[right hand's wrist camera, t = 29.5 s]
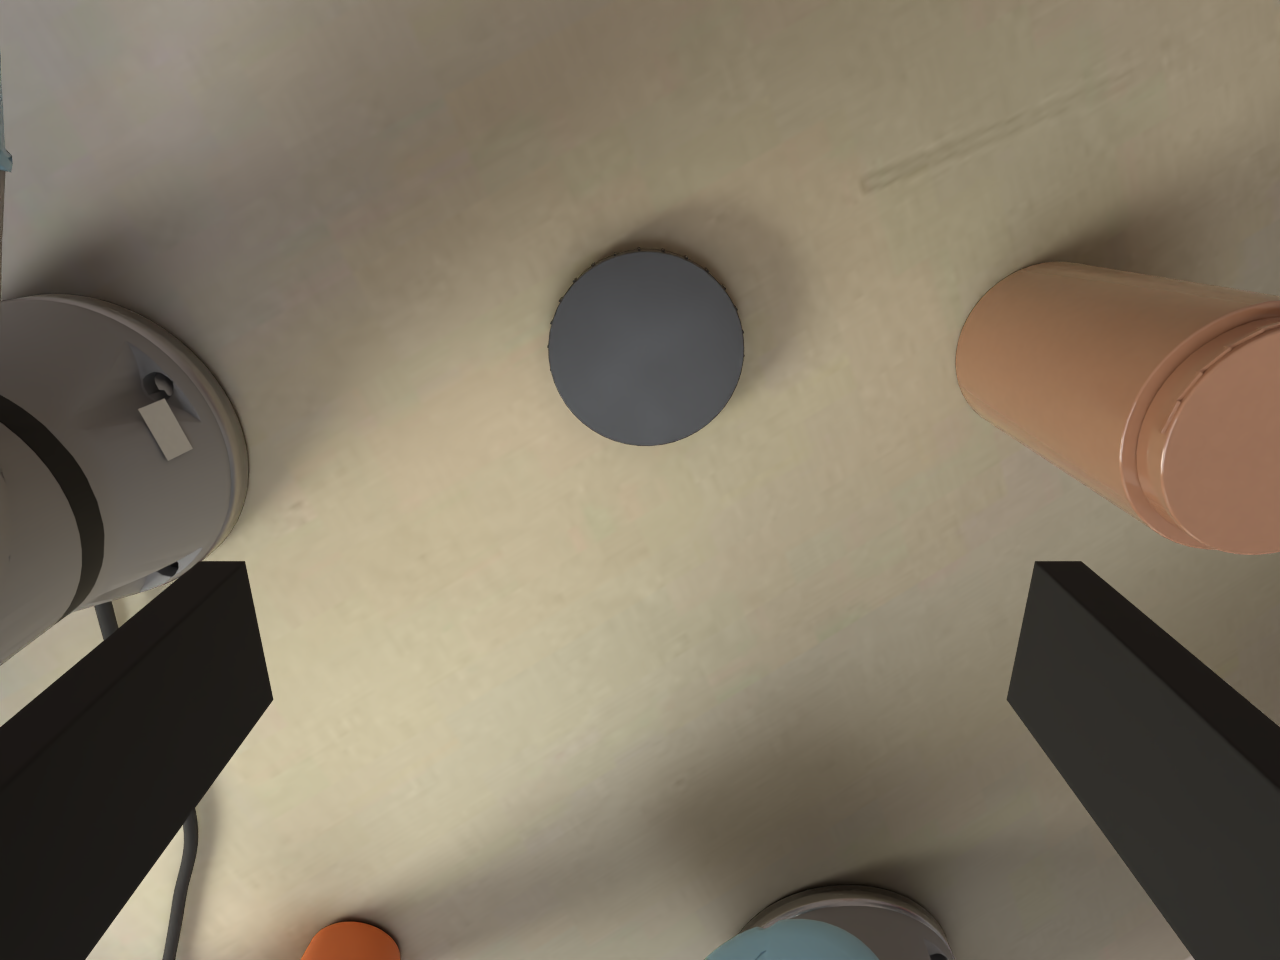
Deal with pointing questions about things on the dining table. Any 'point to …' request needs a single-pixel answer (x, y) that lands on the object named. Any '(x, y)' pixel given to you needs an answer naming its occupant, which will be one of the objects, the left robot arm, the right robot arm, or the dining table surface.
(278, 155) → the dining table surface
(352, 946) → the cup with straw
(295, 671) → the dining table surface
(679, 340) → the lid
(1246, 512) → the jar
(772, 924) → the left robot arm
